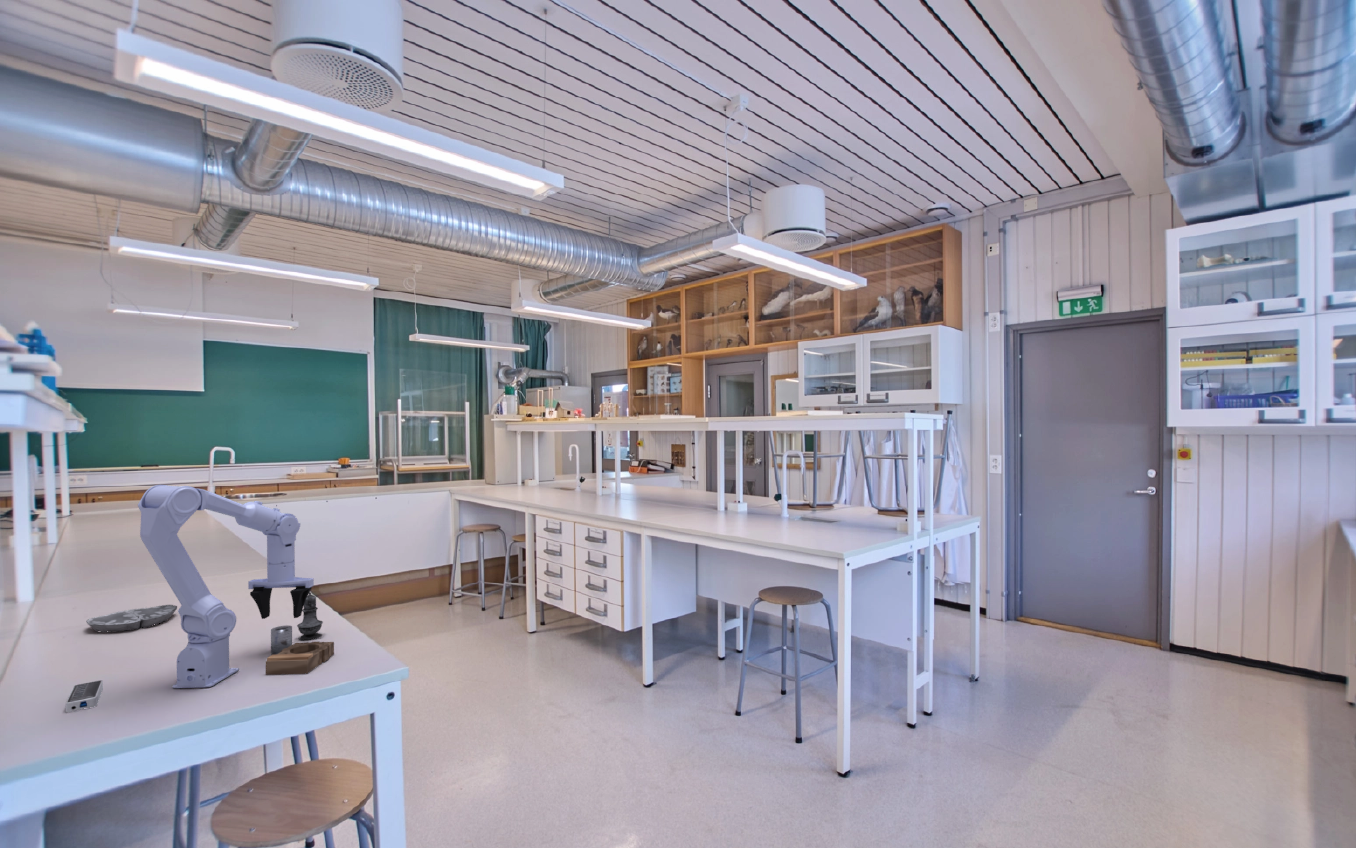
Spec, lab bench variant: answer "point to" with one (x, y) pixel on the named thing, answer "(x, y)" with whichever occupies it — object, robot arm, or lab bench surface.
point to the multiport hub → (84, 696)
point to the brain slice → (132, 618)
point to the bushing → (280, 638)
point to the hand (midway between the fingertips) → (281, 617)
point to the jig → (299, 658)
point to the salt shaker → (309, 620)
